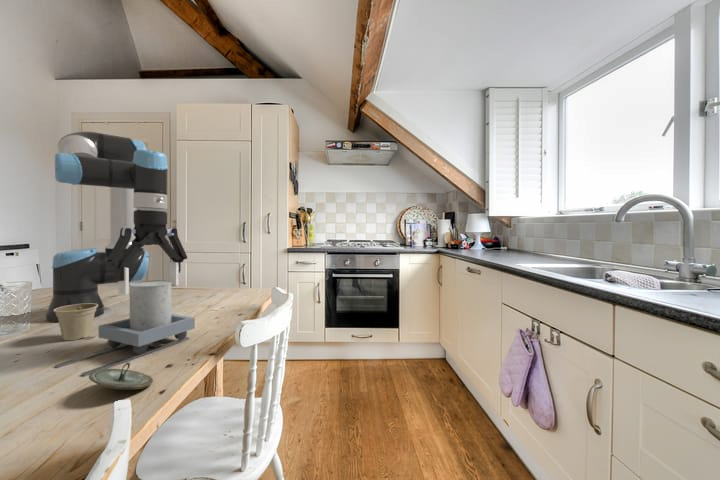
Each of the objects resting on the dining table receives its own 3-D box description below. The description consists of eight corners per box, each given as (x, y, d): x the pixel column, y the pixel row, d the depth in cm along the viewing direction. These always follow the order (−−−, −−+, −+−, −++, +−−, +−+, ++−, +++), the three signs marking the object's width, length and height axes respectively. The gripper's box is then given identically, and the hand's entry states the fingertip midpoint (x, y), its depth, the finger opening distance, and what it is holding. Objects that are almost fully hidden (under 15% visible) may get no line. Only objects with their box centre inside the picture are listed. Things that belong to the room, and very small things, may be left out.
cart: (98, 348, 80) (98, 325, 80) (157, 330, 94) (157, 311, 94) (138, 358, 74) (138, 334, 74) (194, 338, 89) (194, 317, 88)
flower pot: (51, 345, 83) (51, 313, 82) (55, 336, 90) (55, 306, 90) (98, 338, 89) (97, 308, 88) (98, 329, 96) (98, 301, 96)
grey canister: (151, 335, 79) (150, 287, 79) (119, 332, 81) (119, 285, 81) (180, 324, 89) (180, 281, 88) (151, 321, 90) (151, 279, 90)
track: (54, 366, 70) (54, 365, 70) (161, 333, 93) (161, 332, 93) (84, 376, 66) (84, 374, 66) (188, 338, 89) (188, 337, 89)
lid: (84, 389, 61) (84, 363, 61) (144, 372, 69) (143, 349, 68) (94, 410, 54) (94, 381, 54) (160, 388, 62) (159, 363, 62)
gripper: (107, 207, 71) (107, 300, 72) (200, 212, 94) (200, 282, 95) (87, 206, 74) (88, 296, 75) (182, 212, 97) (182, 280, 98)
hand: (150, 288), depth 85 cm, fingers open, 13 cm apart
